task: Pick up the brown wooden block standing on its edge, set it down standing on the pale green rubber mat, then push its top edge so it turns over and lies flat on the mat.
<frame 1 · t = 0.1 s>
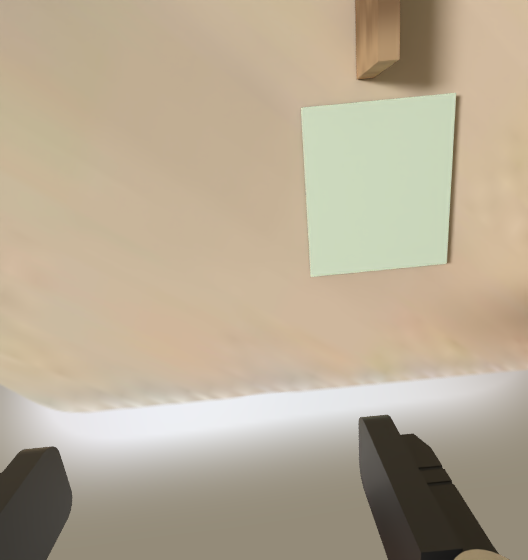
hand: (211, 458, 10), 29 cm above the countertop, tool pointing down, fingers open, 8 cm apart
mat: (377, 190, 36), on the countertop
brown wooden block: (364, 27, 32), on the countertop
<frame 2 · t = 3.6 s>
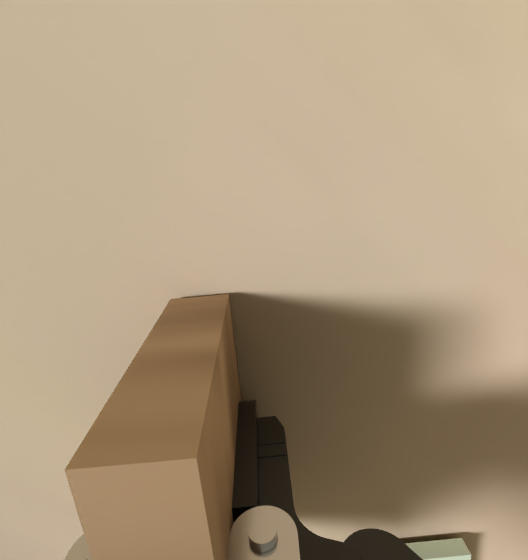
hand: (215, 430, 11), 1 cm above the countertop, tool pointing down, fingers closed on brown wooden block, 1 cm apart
brown wooden block: (217, 418, 11), on the countertop, touching gripper
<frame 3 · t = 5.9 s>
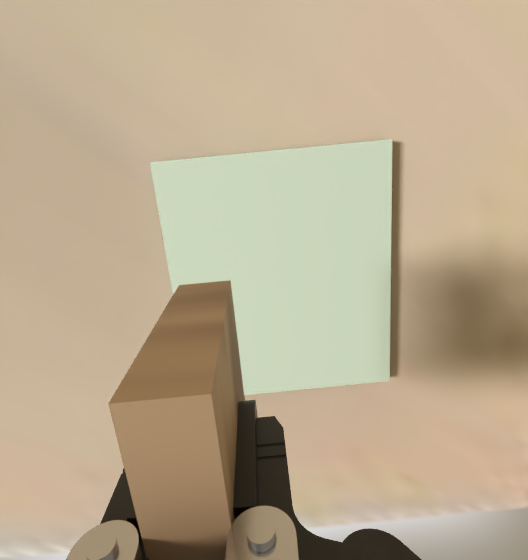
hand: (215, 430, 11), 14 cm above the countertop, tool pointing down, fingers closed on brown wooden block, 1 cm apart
mat: (281, 279, 24), on the countertop
brown wooden block: (220, 393, 13), point 12 cm above the countertop, touching gripper
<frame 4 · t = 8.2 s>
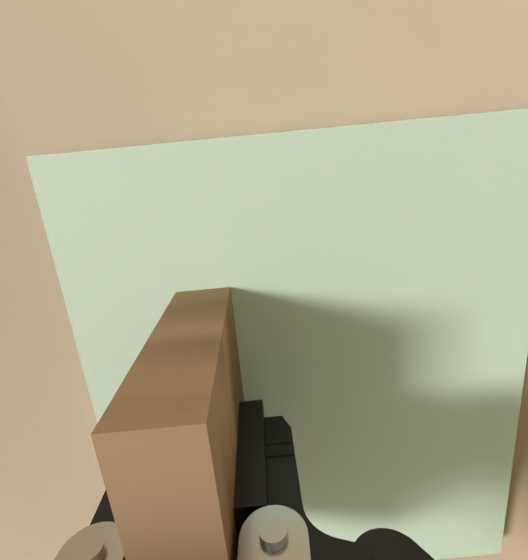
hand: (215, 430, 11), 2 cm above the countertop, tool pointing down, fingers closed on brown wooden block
mat: (307, 384, 13), on the countertop
brown wooden block: (219, 405, 12), point 1 cm above the countertop, touching gripper, mat
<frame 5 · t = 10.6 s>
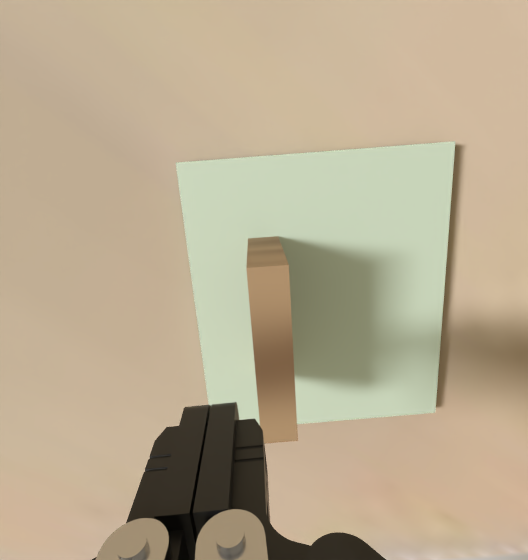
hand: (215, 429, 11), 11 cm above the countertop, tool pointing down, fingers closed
mat: (318, 298, 21), on the countertop
brown wooden block: (268, 307, 21), point 1 cm above the countertop, touching mat
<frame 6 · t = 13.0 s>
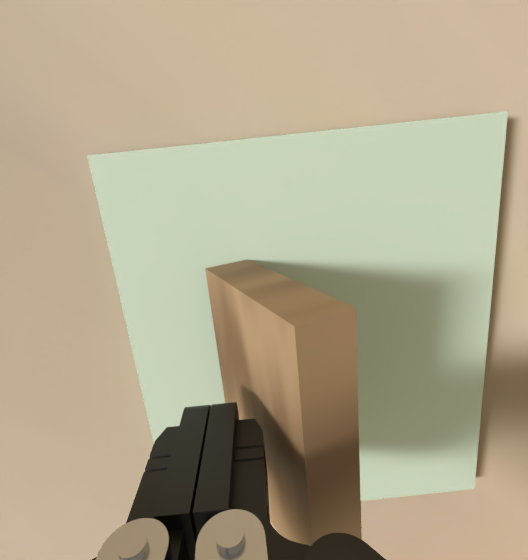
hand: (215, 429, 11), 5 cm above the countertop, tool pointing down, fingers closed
mat: (310, 342, 15), on the countertop
brown wooden block: (239, 363, 14), point 1 cm above the countertop, tilted 25°, touching mat
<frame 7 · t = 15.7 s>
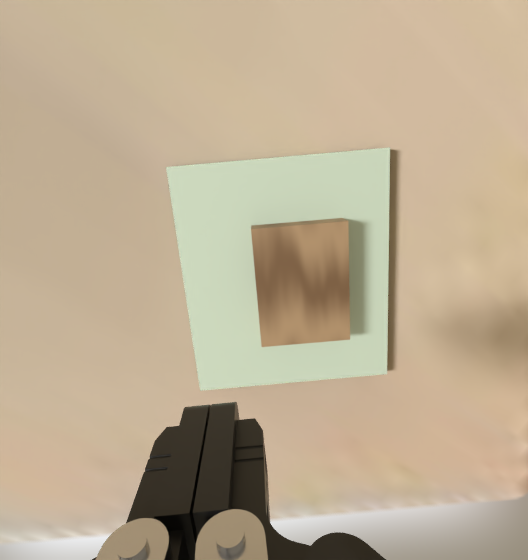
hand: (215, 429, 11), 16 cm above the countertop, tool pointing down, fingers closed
mat: (285, 277, 26), on the countertop
brown wooden block: (256, 287, 25), point 1 cm above the countertop, tilted 90°, touching mat
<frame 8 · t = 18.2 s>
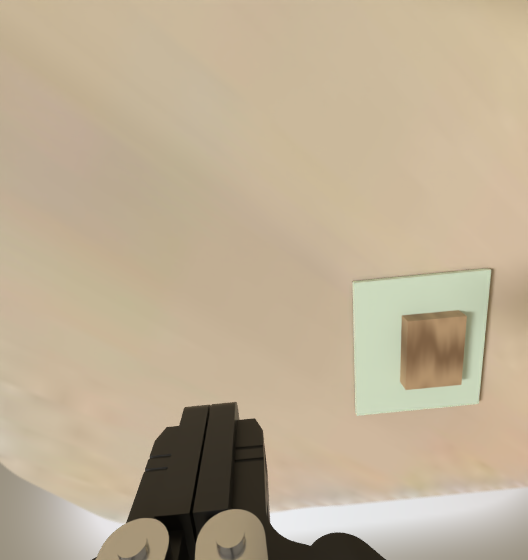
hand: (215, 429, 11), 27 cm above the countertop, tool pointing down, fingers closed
mat: (417, 344, 41), on the countertop
brown wooden block: (403, 353, 39), point 1 cm above the countertop, tilted 90°, touching mat
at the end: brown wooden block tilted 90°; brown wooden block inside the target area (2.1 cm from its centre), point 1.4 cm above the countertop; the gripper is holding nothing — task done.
